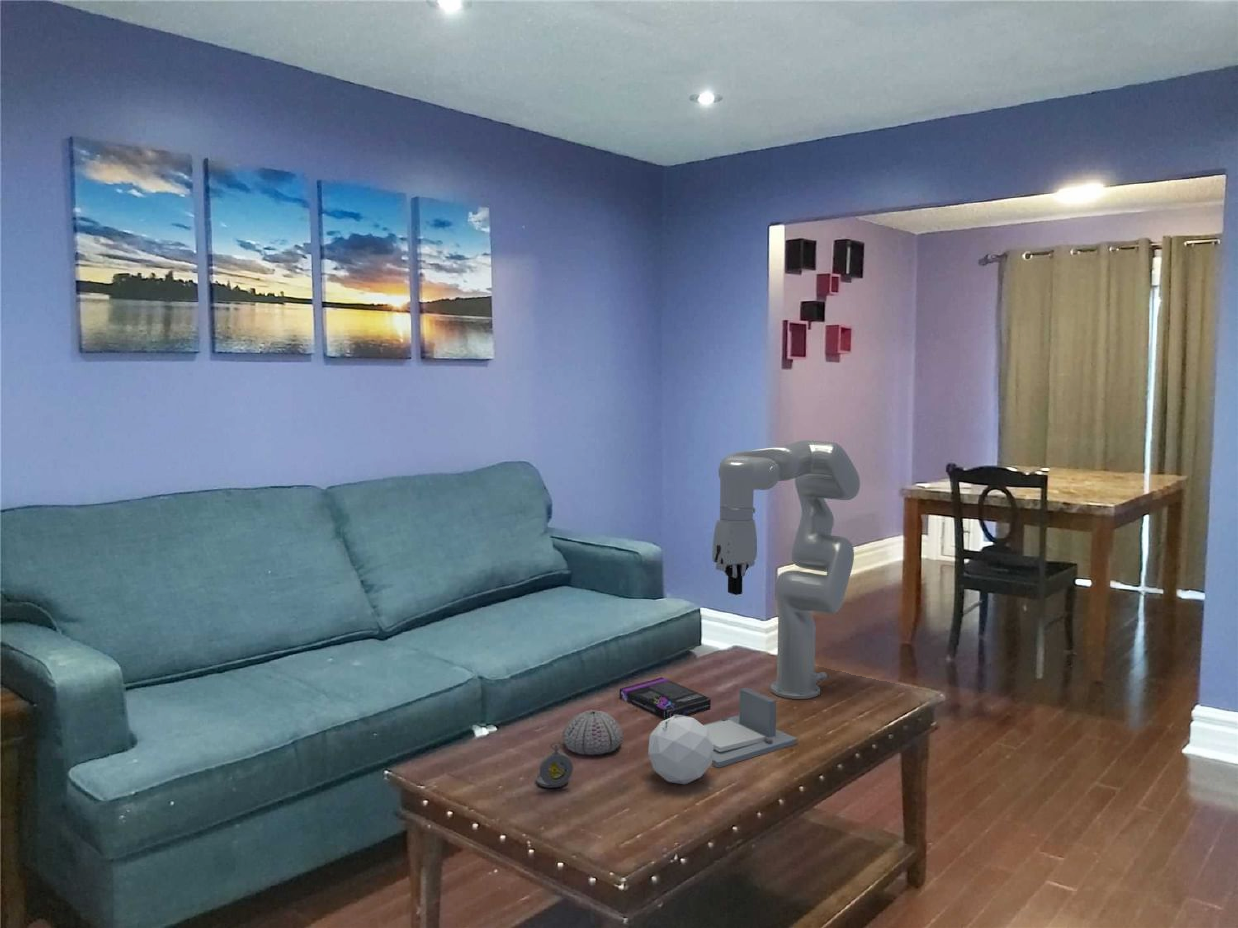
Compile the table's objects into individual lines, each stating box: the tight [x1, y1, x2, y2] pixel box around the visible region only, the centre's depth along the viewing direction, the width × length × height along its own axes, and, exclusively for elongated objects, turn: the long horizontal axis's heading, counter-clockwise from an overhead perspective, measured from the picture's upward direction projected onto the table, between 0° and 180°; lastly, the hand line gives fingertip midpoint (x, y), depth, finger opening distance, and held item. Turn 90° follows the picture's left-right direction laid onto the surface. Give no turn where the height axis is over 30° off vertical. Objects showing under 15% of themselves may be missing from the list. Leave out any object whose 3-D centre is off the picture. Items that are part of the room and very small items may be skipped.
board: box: [702, 687, 798, 769], centre depth 213 cm, size 23×18×9 cm
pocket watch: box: [535, 741, 574, 789], centre depth 191 cm, size 8×8×10 cm
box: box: [618, 677, 712, 721], centre depth 238 cm, size 14×4×20 cm
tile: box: [703, 720, 765, 752], centre depth 213 cm, size 13×12×1 cm
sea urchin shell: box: [561, 709, 624, 756], centre depth 211 cm, size 13×14×8 cm
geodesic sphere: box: [647, 714, 714, 785], centre depth 193 cm, size 14×14×14 cm
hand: (734, 593), depth 219 cm, fingers closed
